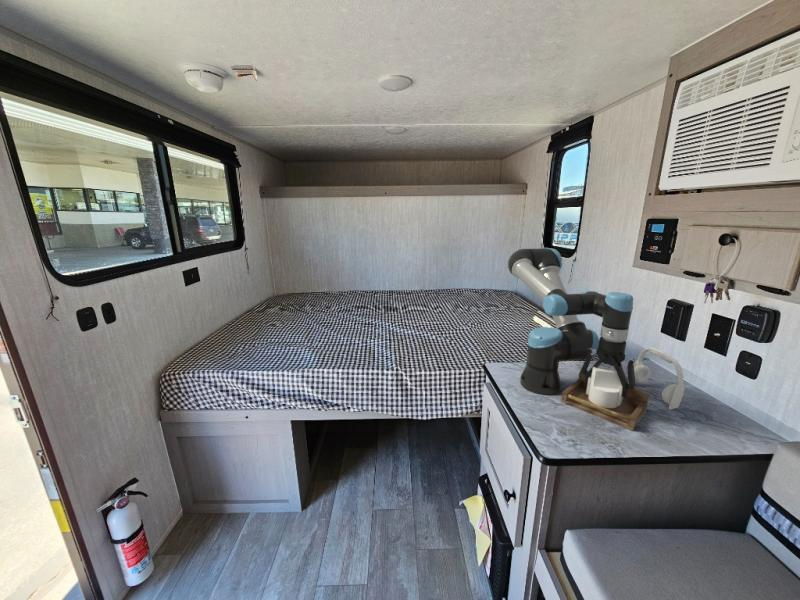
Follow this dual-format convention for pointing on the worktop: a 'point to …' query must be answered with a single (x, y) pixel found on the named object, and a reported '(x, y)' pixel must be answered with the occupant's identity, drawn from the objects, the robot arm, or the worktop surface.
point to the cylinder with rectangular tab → (604, 387)
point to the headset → (671, 392)
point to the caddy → (621, 415)
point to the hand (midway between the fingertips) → (603, 398)
